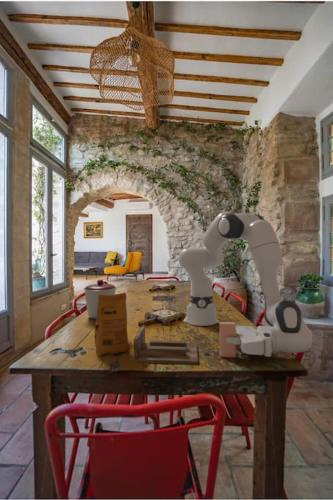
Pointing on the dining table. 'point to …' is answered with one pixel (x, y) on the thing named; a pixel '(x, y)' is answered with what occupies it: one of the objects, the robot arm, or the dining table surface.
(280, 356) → the dining table surface
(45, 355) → the dining table surface
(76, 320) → the dining table surface
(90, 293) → the canister
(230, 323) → the tile
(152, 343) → the rack
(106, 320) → the coffee package
